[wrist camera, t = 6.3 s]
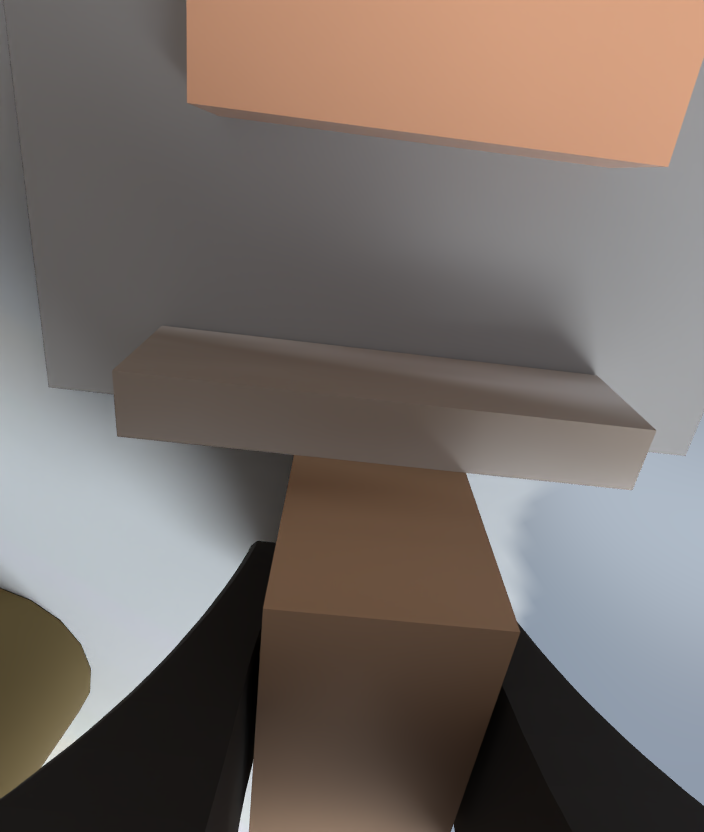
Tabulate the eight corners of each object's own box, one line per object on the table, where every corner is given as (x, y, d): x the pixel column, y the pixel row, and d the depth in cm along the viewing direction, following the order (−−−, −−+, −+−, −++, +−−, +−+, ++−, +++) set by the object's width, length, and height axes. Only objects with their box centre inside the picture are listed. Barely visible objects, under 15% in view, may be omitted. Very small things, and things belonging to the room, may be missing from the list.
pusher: (512, 625, 14) (605, 907, 9) (171, 594, 14) (56, 870, 9) (597, 375, 11) (816, 577, 6) (161, 325, 11) (-26, 494, 6)
